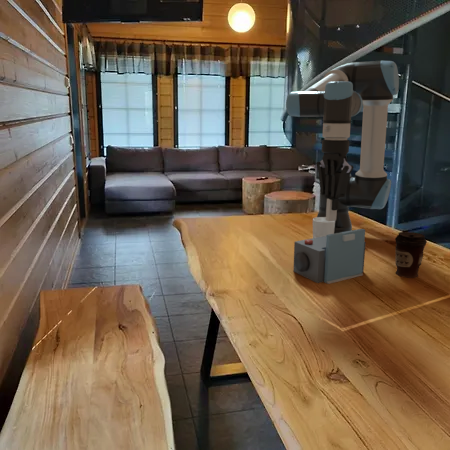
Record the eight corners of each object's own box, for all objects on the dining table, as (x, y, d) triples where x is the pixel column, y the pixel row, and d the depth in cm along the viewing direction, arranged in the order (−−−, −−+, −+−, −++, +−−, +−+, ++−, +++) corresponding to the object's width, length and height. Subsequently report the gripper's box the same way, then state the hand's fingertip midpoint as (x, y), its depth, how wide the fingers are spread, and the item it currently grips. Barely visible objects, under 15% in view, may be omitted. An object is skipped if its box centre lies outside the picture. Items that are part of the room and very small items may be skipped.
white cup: (309, 248, 165) (310, 221, 163) (313, 242, 172) (315, 216, 170) (331, 250, 162) (333, 223, 160) (335, 244, 169) (336, 218, 167)
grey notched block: (337, 263, 149) (339, 231, 146) (363, 273, 140) (365, 239, 137) (289, 273, 140) (291, 239, 137) (313, 285, 130) (315, 249, 128)
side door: (358, 275, 138) (362, 228, 135) (363, 277, 137) (367, 230, 133) (324, 283, 132) (326, 234, 128) (328, 285, 130) (331, 236, 127)
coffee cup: (407, 283, 132) (411, 239, 129) (385, 274, 139) (389, 232, 136) (428, 278, 136) (433, 235, 133) (405, 269, 143) (410, 229, 140)
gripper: (310, 138, 134) (306, 217, 139) (342, 140, 123) (336, 226, 128) (329, 137, 137) (325, 214, 143) (362, 139, 126) (356, 223, 132)
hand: (330, 220), depth 136 cm, fingers closed
